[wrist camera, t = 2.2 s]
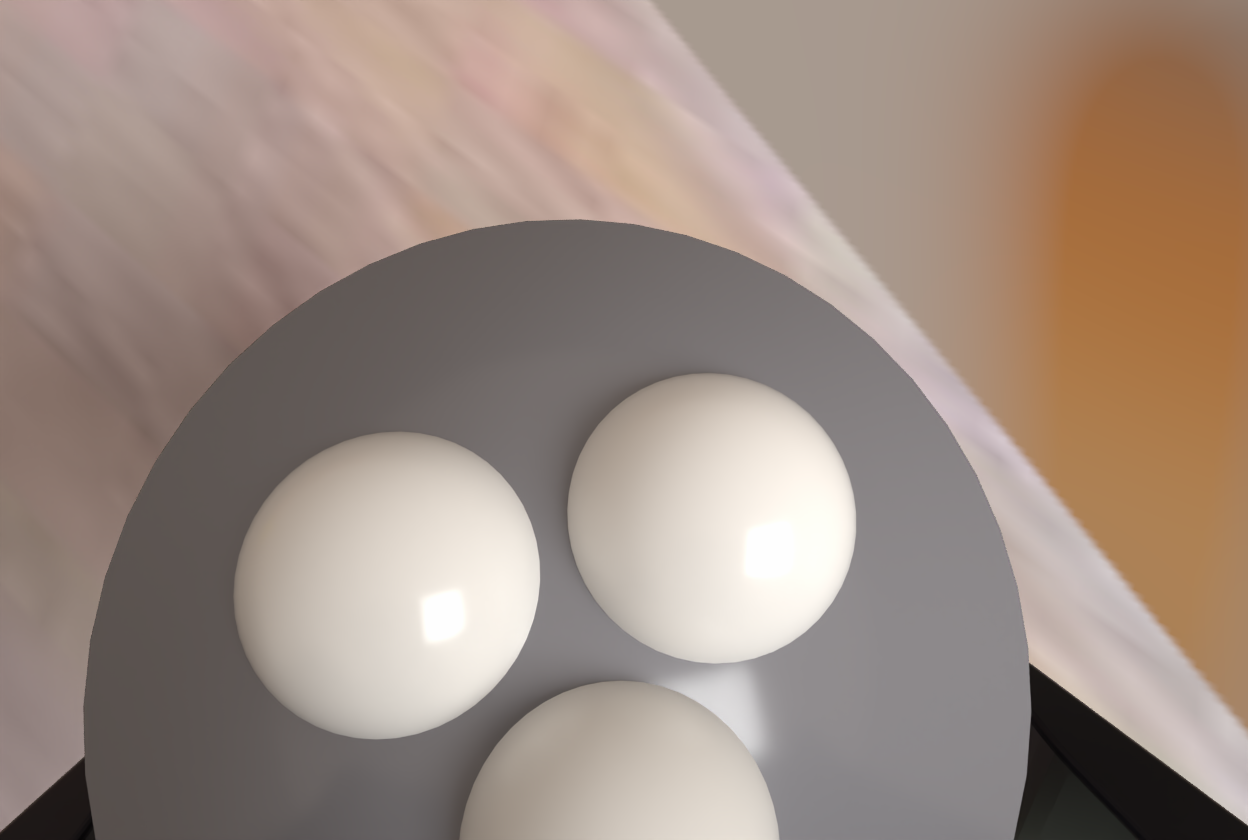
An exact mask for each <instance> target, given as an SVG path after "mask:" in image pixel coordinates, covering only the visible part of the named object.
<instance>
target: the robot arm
mask: <svg viewBox="0 0 1248 840" xmlns="http://www.w3.org/2000/svg"><path fill="white" fill-rule="evenodd" d="M1029 676H1030V696H1031V722H1030V735H1029V749H1028V763H1027V776H1026V781H1025V786H1024V791H1023V796H1022V801H1021V806H1020V811H1019V816H1018V821H1017V826H1016V831H1015V836H1014V840H1248V825H1246V824H1245V823H1244V822H1242V821H1241V820H1240V819H1238V818H1237V817H1236V816H1234V815H1233V814H1232V813H1230V812H1229V811H1228V810H1226V809H1225V808H1224V807H1222V806H1221V805H1220V804H1218V803H1217V802H1216V801H1214V800H1213V799H1212V798H1210V797H1209V796H1208V795H1206V794H1205V793H1204V792H1202V791H1201V790H1200V789H1198V788H1197V787H1195V786H1194V785H1193V784H1191V783H1190V782H1189V781H1187V780H1186V779H1185V778H1183V777H1182V776H1181V775H1179V774H1178V773H1177V772H1175V771H1174V770H1173V769H1171V768H1170V767H1169V766H1167V765H1166V764H1165V763H1163V762H1162V761H1161V760H1159V759H1158V758H1157V757H1155V756H1154V755H1153V754H1151V753H1150V752H1148V751H1147V750H1146V749H1144V748H1143V747H1142V746H1140V745H1139V744H1138V743H1136V742H1135V741H1134V740H1132V739H1131V738H1130V737H1128V736H1127V735H1126V734H1124V733H1123V732H1122V731H1120V730H1119V729H1118V728H1116V727H1115V726H1114V725H1112V724H1111V723H1110V722H1108V721H1107V720H1106V719H1104V718H1103V717H1101V716H1100V715H1099V714H1097V713H1096V712H1095V711H1093V710H1092V709H1091V708H1089V707H1088V706H1087V705H1085V704H1084V703H1083V702H1081V701H1080V700H1079V699H1077V698H1076V697H1075V696H1073V695H1072V694H1071V693H1069V692H1068V691H1067V690H1065V689H1064V688H1063V687H1061V686H1060V685H1059V684H1057V683H1056V682H1055V681H1053V680H1052V679H1050V678H1049V677H1048V676H1046V675H1045V674H1044V673H1042V672H1041V671H1040V670H1038V669H1037V668H1036V667H1034V666H1033V665H1032V664H1030V663H1029ZM0 840H96V839H95V833H94V826H93V820H92V814H91V808H90V801H89V795H88V789H87V782H86V776H85V756H84V757H83V758H82V759H81V760H80V761H79V762H78V763H77V764H76V765H74V766H73V767H72V768H71V769H70V770H69V771H68V772H67V773H66V774H64V775H63V776H62V777H61V778H60V779H59V780H58V781H57V782H56V783H54V784H53V785H52V786H51V787H50V788H49V789H48V790H47V791H45V792H44V793H43V794H42V795H41V796H40V797H39V798H38V799H37V800H35V801H34V802H33V803H32V804H31V805H30V806H29V807H28V808H27V809H25V810H24V811H23V812H22V813H21V814H20V815H19V816H18V817H17V818H15V819H14V820H13V821H12V822H11V823H10V824H9V825H8V826H6V827H5V828H4V829H3V830H2V831H1V832H0Z"/></svg>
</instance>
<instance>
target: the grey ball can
mask: <svg viewBox="0 0 1248 840" xmlns="http://www.w3.org/2000/svg"><path fill="white" fill-rule="evenodd" d="M1030 722H1031V696H1030V676H1029V656H1028V644H1027V639H1026V633H1025V627H1024V621H1023V616H1022V610H1021V604H1020V598H1019V593H1018V587H1017V583H1016V580H1015V577H1014V574H1013V570H1012V567H1011V564H1010V560H1009V557H1008V554H1007V550H1006V547H1005V544H1004V540H1003V537H1002V534H1001V530H1000V528H999V525H998V523H997V521H996V518H995V516H994V514H993V512H992V509H991V507H990V505H989V502H988V500H987V498H986V496H985V493H984V491H983V489H982V486H981V484H980V482H979V479H978V477H977V475H976V473H975V471H974V470H973V468H972V466H971V465H970V463H969V461H968V459H967V458H966V456H965V454H964V453H963V451H962V449H961V448H960V446H959V444H958V442H957V441H956V439H955V437H954V436H953V434H952V432H951V431H950V429H949V427H948V425H947V424H946V423H945V421H944V420H943V419H942V417H941V416H940V415H939V413H938V412H937V411H936V409H935V408H934V407H933V405H932V404H931V403H930V402H929V400H928V399H927V398H926V396H925V395H924V394H923V392H922V391H921V390H920V388H919V387H918V386H917V384H916V383H915V382H914V381H913V379H912V378H911V377H910V376H909V375H908V374H907V373H906V372H905V371H904V370H903V369H902V368H901V367H900V366H899V365H898V364H897V363H896V362H895V361H894V360H893V359H892V358H891V356H890V355H889V354H888V353H887V352H886V351H885V350H884V349H883V348H882V347H881V346H880V345H879V344H878V343H877V342H876V341H875V340H874V339H873V338H872V337H870V336H869V335H868V334H867V333H866V332H864V331H863V330H862V329H861V328H859V327H858V326H857V325H856V324H854V323H853V322H852V321H851V320H850V319H848V318H847V317H846V316H845V315H843V314H842V313H841V312H840V311H838V310H837V309H836V308H835V307H834V306H832V305H831V304H830V303H828V302H826V301H825V300H823V299H822V298H820V297H819V296H817V295H815V294H814V293H812V292H811V291H809V290H807V289H806V288H804V287H803V286H801V285H800V284H798V283H796V282H795V281H793V280H792V279H790V278H788V277H787V276H785V275H783V274H781V273H779V272H777V271H775V270H773V269H771V268H769V267H766V266H764V265H762V264H760V263H758V262H756V261H754V260H752V259H750V258H748V257H745V256H743V255H741V254H739V253H737V252H734V251H731V250H728V249H725V248H722V247H720V246H717V245H714V244H711V243H708V242H705V241H702V240H699V239H696V238H693V237H690V236H687V235H683V234H678V233H673V232H669V231H664V230H659V229H654V228H649V227H645V226H640V225H635V224H626V223H614V222H603V221H592V220H548V221H525V222H518V223H511V224H505V225H498V226H491V227H485V228H478V229H472V230H469V231H465V232H461V233H458V234H454V235H450V236H447V237H443V238H439V239H436V240H432V241H429V242H425V243H421V244H419V245H416V246H414V247H411V248H409V249H406V250H404V251H401V252H399V253H396V254H394V255H391V256H389V257H387V258H384V259H382V260H379V261H377V262H374V263H372V264H369V265H367V266H366V267H364V268H362V269H360V270H358V271H356V272H355V273H353V274H351V275H349V276H347V277H346V278H344V279H342V280H340V281H338V282H337V283H335V284H333V285H331V286H329V287H327V288H326V289H324V290H322V291H320V292H319V293H317V294H316V295H314V296H313V297H312V298H310V299H309V300H307V301H306V302H305V303H303V304H302V305H301V306H299V307H298V308H296V309H295V310H294V311H292V312H291V313H289V314H288V315H287V316H285V317H284V318H282V319H281V320H280V321H278V322H277V323H275V324H274V325H273V326H272V327H270V328H269V329H268V330H267V331H266V332H265V333H264V334H263V335H262V336H261V337H259V338H258V339H257V340H256V341H255V342H254V343H253V344H252V345H251V346H250V347H249V348H247V349H246V350H245V351H244V352H243V353H242V354H241V355H240V356H239V357H238V358H236V359H235V360H234V361H233V362H232V363H231V364H230V365H229V366H228V367H227V368H226V369H225V371H224V372H223V373H222V374H221V375H220V376H219V378H218V379H217V380H216V381H215V382H214V383H213V384H212V386H211V387H210V388H209V389H208V390H207V391H206V393H205V394H204V395H203V396H202V397H201V398H200V400H199V401H198V402H197V403H196V404H195V405H194V406H193V408H192V409H191V410H190V411H189V413H188V414H187V416H186V417H185V419H184V420H183V422H182V423H181V425H180V426H179V428H178V429H177V431H176V432H175V434H174V435H173V436H172V438H171V439H170V441H169V442H168V444H167V445H166V447H165V448H164V450H163V451H162V453H161V454H160V456H159V457H158V459H157V460H156V462H155V464H154V466H153V468H152V470H151V472H150V474H149V475H148V477H147V479H146V481H145V483H144V485H143V487H142V489H141V491H140V493H139V495H138V497H137V499H136V501H135V503H134V505H133V507H132V509H131V511H130V513H129V514H128V516H127V519H126V522H125V524H124V527H123V530H122V533H121V535H120V538H119V541H118V543H117V546H116V549H115V552H114V554H113V557H112V560H111V562H110V565H109V568H108V571H107V573H106V576H105V580H104V584H103V588H102V593H101V597H100V601H99V606H98V610H97V614H96V619H95V623H94V627H93V631H92V636H91V640H90V649H89V658H88V668H87V678H86V688H85V697H84V745H85V776H86V782H87V789H88V795H89V801H90V808H91V814H92V820H93V826H94V833H95V839H96V840H1014V836H1015V831H1016V826H1017V821H1018V816H1019V811H1020V806H1021V801H1022V796H1023V791H1024V786H1025V781H1026V776H1027V763H1028V749H1029V735H1030Z"/></svg>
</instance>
